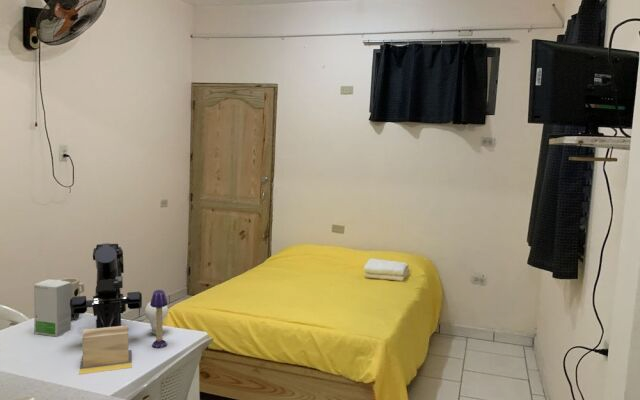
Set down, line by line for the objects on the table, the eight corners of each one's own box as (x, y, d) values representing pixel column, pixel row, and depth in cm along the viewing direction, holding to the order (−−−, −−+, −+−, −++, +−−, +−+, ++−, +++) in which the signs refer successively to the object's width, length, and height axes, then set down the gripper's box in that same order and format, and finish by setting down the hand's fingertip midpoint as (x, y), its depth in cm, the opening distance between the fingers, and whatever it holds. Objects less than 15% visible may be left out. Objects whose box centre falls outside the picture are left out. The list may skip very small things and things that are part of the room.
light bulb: (148, 330, 157) (147, 296, 156) (170, 330, 158) (169, 296, 156) (142, 339, 151) (142, 303, 149) (165, 339, 151) (165, 303, 150)
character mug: (56, 326, 159) (54, 286, 157) (46, 320, 163) (44, 282, 162) (90, 317, 167) (89, 279, 166) (79, 312, 172) (78, 275, 170)
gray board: (82, 357, 138) (82, 355, 138) (131, 351, 142) (131, 349, 142) (78, 375, 127) (78, 374, 127) (131, 369, 131) (131, 367, 131)
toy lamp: (171, 347, 145) (170, 291, 143) (156, 352, 142) (155, 294, 140) (162, 342, 149) (161, 287, 147) (147, 347, 145) (146, 290, 143)
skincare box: (34, 334, 152) (31, 284, 150) (50, 326, 159) (48, 278, 157) (57, 337, 150) (55, 286, 149) (73, 329, 157) (71, 280, 155)
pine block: (85, 358, 136) (84, 329, 135) (128, 352, 140) (127, 325, 139) (83, 367, 131) (82, 338, 130) (128, 362, 134) (127, 333, 133)
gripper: (69, 269, 139) (66, 321, 130) (141, 264, 146) (142, 313, 137) (73, 288, 147) (70, 339, 138) (140, 283, 154) (142, 331, 145)
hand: (106, 330), depth 139 cm, fingers closed
